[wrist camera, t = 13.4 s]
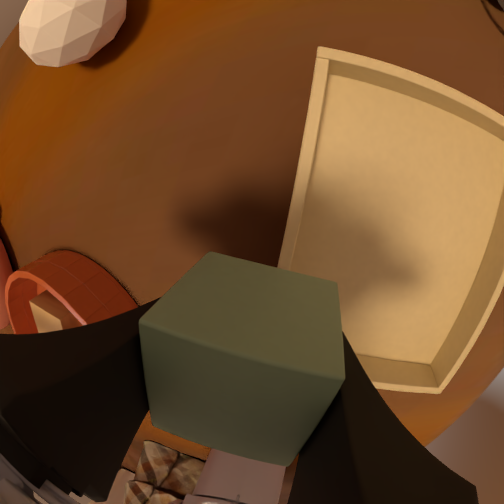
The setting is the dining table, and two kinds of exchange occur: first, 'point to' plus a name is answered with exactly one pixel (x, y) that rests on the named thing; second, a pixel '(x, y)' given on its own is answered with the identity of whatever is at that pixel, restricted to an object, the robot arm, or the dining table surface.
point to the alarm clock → (501, 3)
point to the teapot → (3, 269)
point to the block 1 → (51, 313)
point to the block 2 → (243, 357)
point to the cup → (117, 488)
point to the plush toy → (162, 476)
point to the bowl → (65, 290)
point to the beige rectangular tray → (400, 215)
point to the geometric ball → (68, 29)
